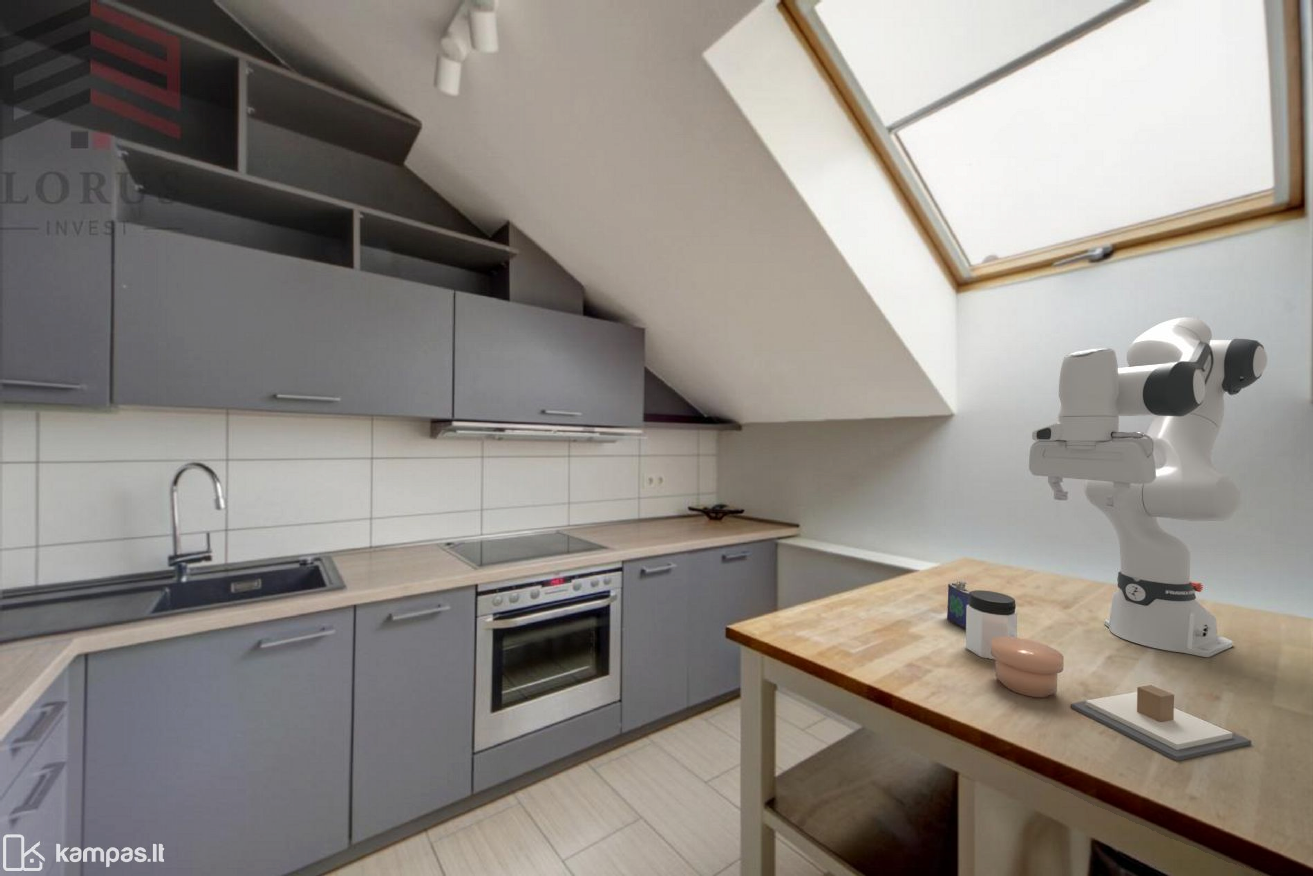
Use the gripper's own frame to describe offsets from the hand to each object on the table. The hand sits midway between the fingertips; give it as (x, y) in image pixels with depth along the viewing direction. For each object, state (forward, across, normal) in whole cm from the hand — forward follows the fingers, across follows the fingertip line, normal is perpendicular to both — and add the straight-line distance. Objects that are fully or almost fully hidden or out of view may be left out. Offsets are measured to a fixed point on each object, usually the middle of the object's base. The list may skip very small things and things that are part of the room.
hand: (1086, 503), depth 95 cm
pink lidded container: (+33, -2, +17) cm, 37 cm away
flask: (+33, +25, +3) cm, 42 cm away
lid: (+32, -16, +8) cm, 37 cm away
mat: (+33, -16, +8) cm, 37 cm away
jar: (+33, +11, +10) cm, 36 cm away
